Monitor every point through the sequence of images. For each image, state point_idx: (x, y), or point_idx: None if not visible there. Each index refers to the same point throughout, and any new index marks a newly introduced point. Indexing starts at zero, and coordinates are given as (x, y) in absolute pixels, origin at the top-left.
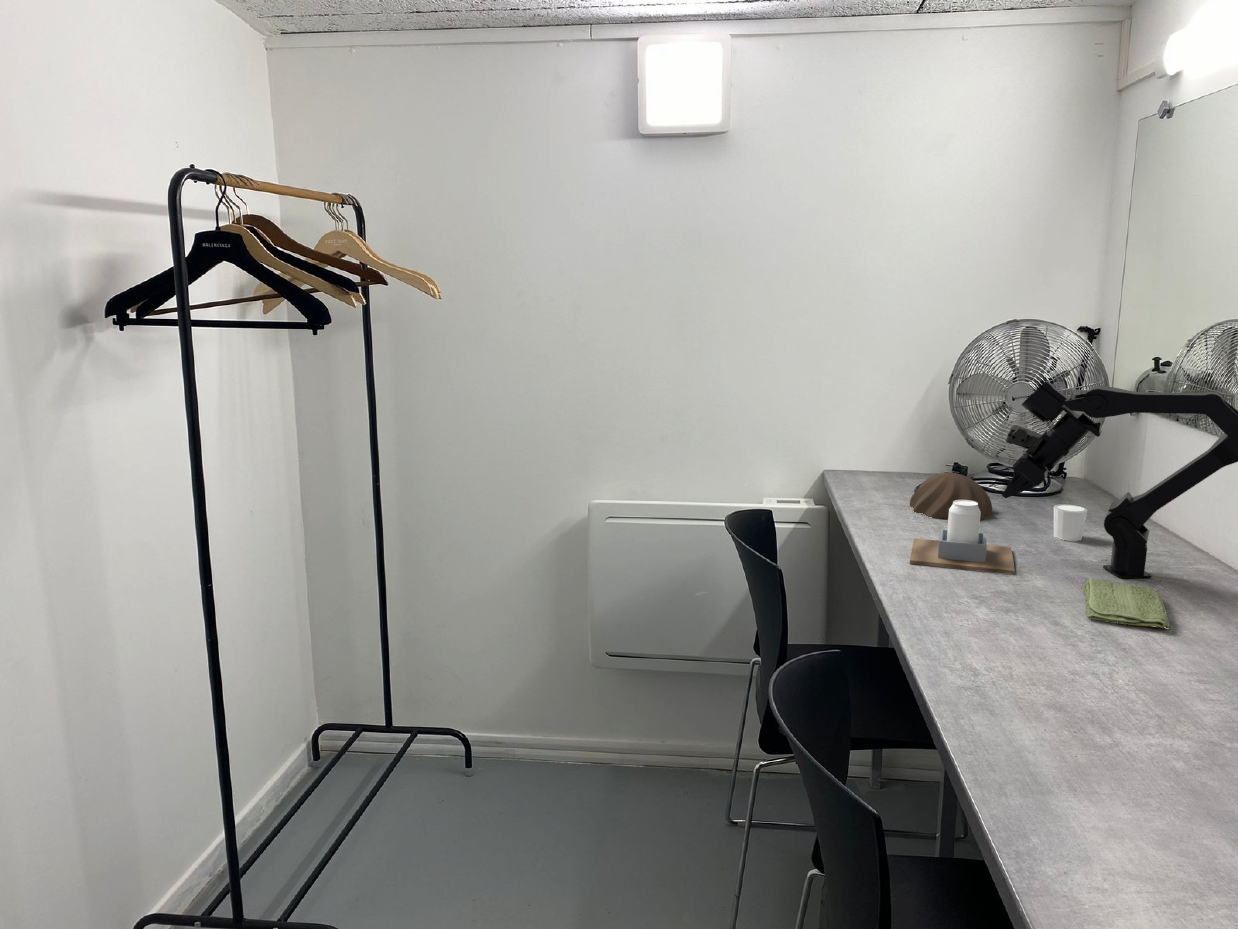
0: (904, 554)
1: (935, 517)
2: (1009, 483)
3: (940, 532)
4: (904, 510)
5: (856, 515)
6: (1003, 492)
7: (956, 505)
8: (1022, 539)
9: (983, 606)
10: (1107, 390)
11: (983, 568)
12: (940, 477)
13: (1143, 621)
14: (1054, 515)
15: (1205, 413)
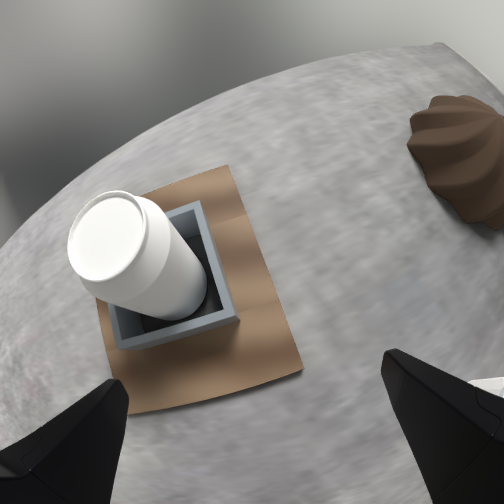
0: (138, 191)
1: (412, 151)
2: (45, 426)
3: (166, 213)
4: (405, 108)
5: (318, 69)
6: (96, 388)
7: (78, 219)
8: (412, 349)
9: (3, 373)
10: None
11: (107, 354)
12: (475, 105)
13: None
14: (490, 388)
15: None
